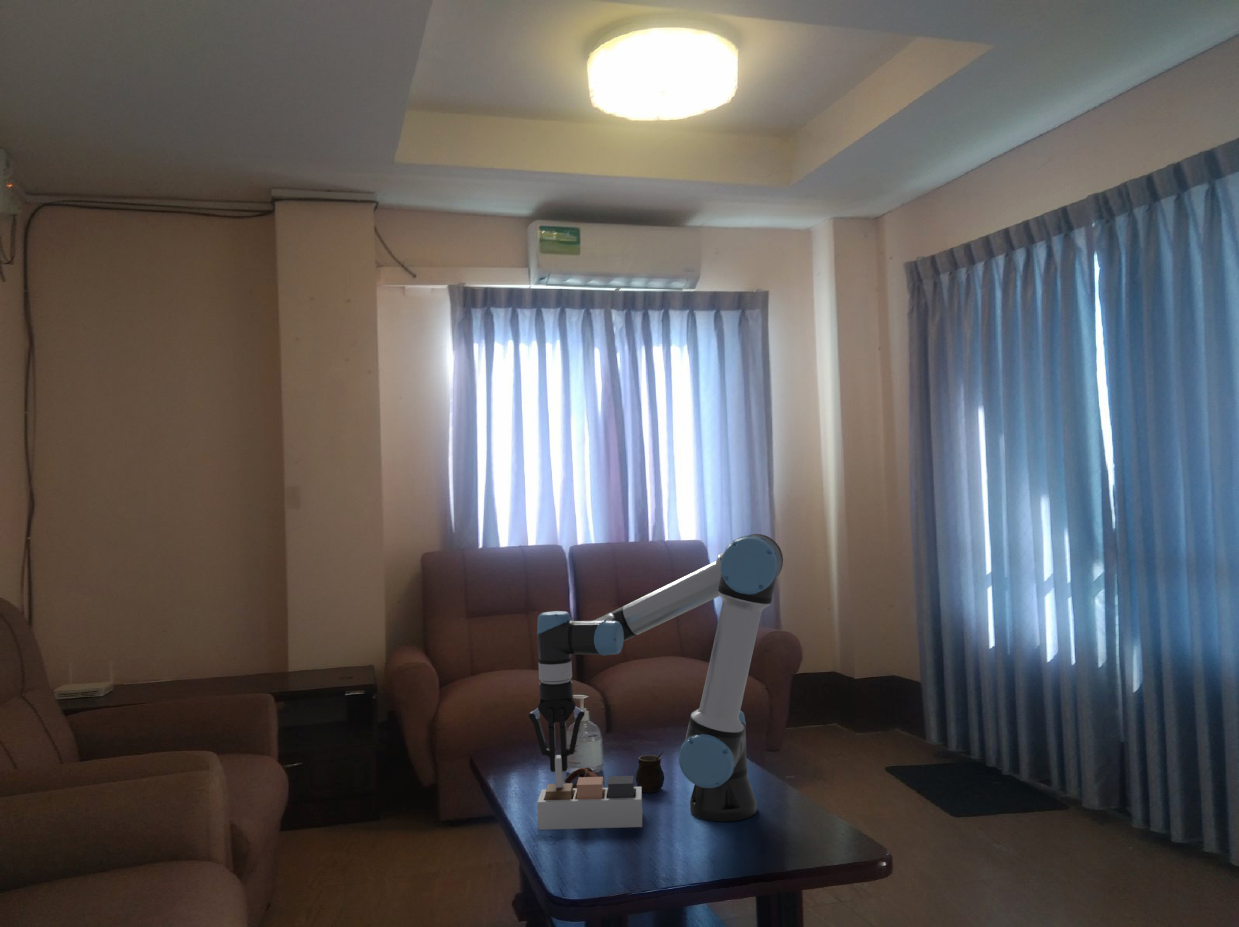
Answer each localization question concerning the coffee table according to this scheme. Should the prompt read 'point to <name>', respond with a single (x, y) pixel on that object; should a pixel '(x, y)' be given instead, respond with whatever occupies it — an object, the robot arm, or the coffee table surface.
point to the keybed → (590, 812)
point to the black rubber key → (621, 787)
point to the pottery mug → (580, 775)
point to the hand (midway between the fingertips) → (559, 785)
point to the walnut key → (559, 792)
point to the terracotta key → (590, 788)
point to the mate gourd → (650, 773)
